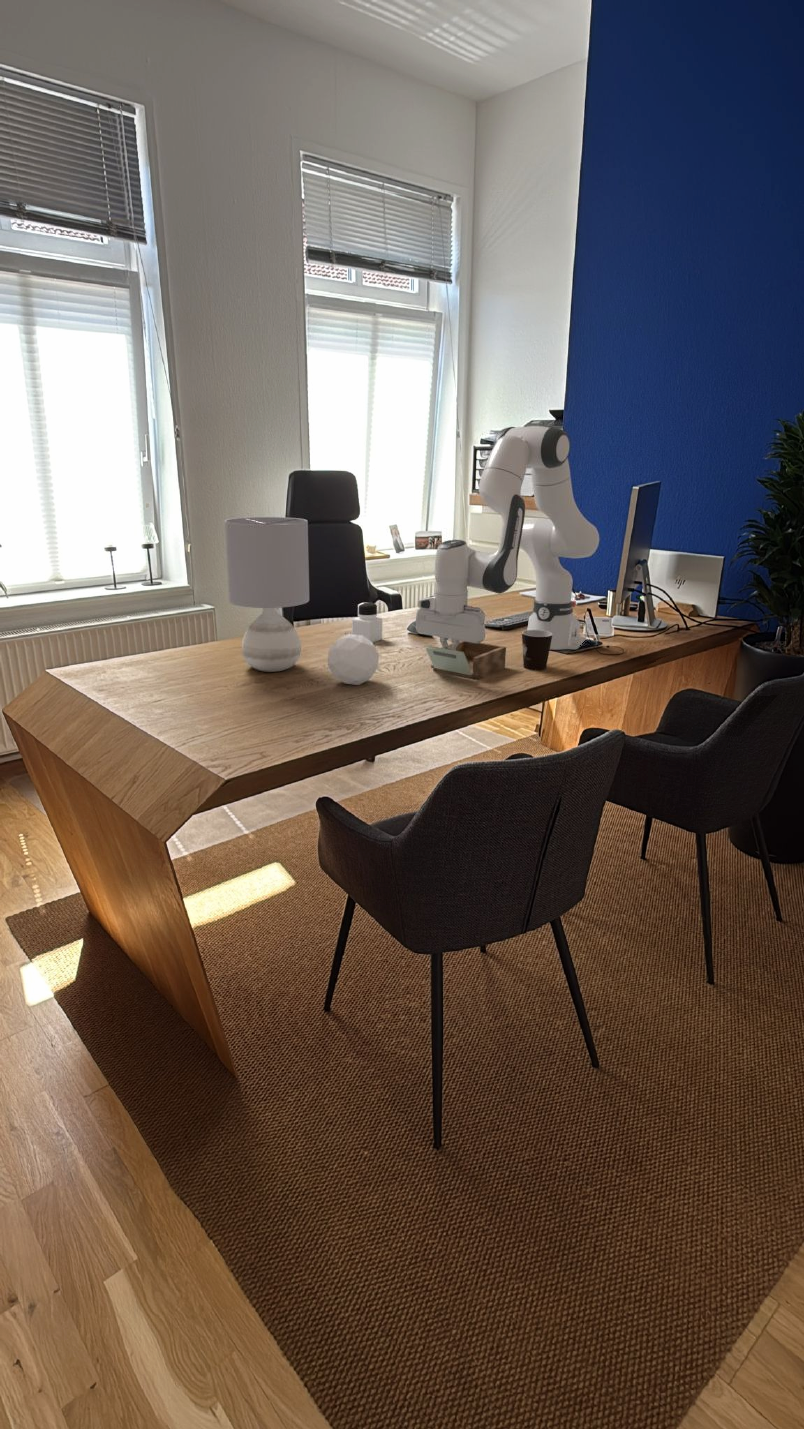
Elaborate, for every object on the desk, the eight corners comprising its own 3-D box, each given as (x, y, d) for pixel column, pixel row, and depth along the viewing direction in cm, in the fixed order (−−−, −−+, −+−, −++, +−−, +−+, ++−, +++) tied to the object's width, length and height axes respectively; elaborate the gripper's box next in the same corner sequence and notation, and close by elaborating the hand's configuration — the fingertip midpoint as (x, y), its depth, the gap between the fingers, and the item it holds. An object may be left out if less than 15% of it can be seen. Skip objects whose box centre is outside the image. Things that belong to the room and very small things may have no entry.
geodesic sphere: (310, 657, 210) (326, 622, 200) (353, 650, 218) (370, 616, 208) (333, 699, 204) (350, 665, 194) (376, 690, 212) (395, 657, 202)
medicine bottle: (382, 639, 255) (382, 602, 251) (370, 643, 249) (370, 606, 245) (364, 636, 258) (364, 600, 254) (352, 640, 252) (351, 603, 248)
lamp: (326, 667, 221) (324, 521, 208) (266, 683, 206) (259, 526, 193) (277, 654, 235) (272, 515, 222) (217, 667, 220) (207, 519, 206)
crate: (463, 659, 232) (464, 639, 230) (504, 667, 224) (506, 647, 223) (430, 671, 219) (431, 650, 217) (473, 680, 211) (474, 659, 209)
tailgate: (435, 665, 218) (427, 645, 213) (471, 672, 212) (463, 652, 206) (433, 668, 218) (425, 648, 212) (469, 676, 211) (461, 655, 206)
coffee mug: (549, 672, 220) (552, 637, 217) (518, 670, 222) (520, 635, 219) (550, 661, 231) (553, 628, 228) (521, 659, 233) (523, 626, 229)
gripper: (491, 606, 204) (488, 657, 208) (426, 597, 215) (425, 645, 220) (478, 610, 199) (476, 662, 204) (412, 600, 210) (412, 650, 215)
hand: (449, 654), depth 212 cm, fingers closed, pressing on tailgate
